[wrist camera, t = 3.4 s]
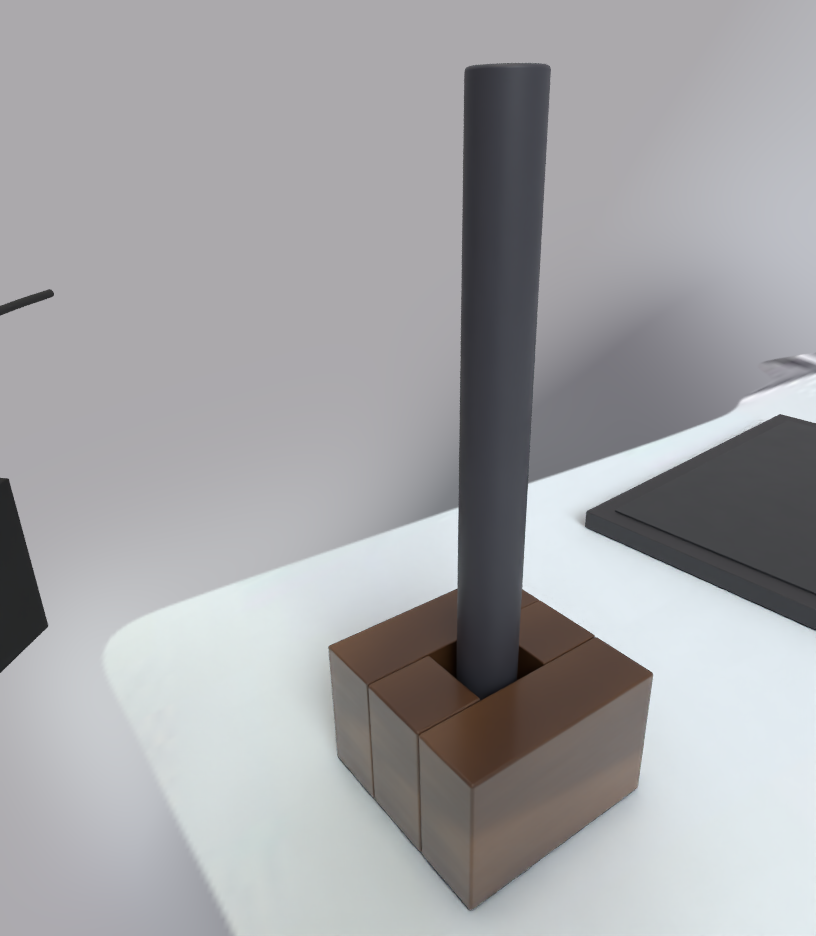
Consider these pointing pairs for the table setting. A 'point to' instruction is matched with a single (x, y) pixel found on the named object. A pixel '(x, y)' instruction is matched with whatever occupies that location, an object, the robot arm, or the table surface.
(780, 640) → the table surface
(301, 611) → the table surface
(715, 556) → the dark grey flat block
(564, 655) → the pen stand
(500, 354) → the stylus
